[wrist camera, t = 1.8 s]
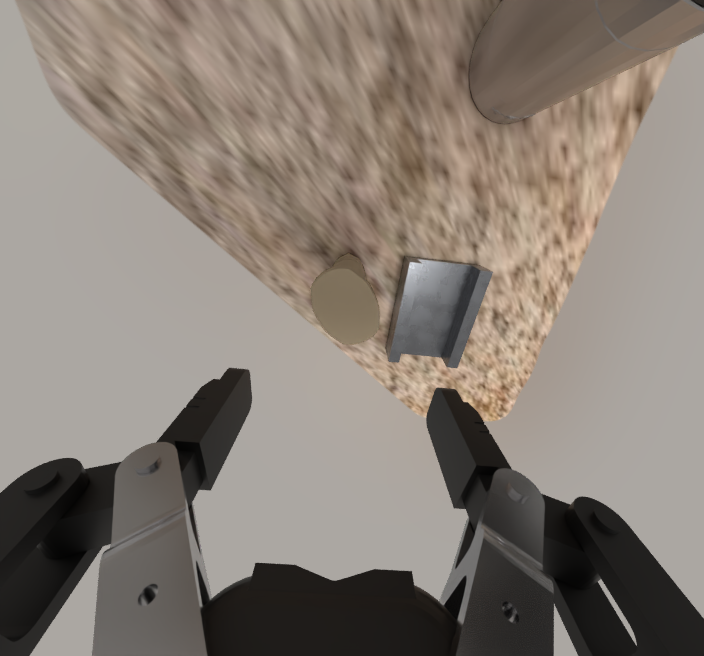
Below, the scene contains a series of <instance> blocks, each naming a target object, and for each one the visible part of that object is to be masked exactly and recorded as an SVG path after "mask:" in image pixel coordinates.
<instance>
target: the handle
mask: <svg viewBox="0 0 704 656" xmlns="http://www.w3.org/2000/svg"><path fill="white" fill-rule="evenodd" d="M310 289H311V302H312V308H313V312H314V314H315V316H316V318H317V320H318V321H319V323H320V324H321V326H322V328H323V329H324V330H325V332H327V333H328V334H329V335H330V336H331V337H333V338H334V339H336V340H337V341H339V342H340V343H342V344H346V345H353V344H358V343H361V342H364V341H366V340H368V339H370V338H371V337H372V336H374V335H375V333H376V332H377V331H378V330H379V319H380V312H379V305H378V301H377V298H376V296H375V294H374V292H373V289H372V287H371V285H370V284H369V282H368V281H367V280H366V275H365V270H364V267H363V265H362V263H361V261H360V259H358V258H357V257H355V256H353V255H351V253H347V254H346V255H344V256H342V257H339V258H338V259H337V261H336V262H335V263H334V265H333V267H332V268H330V269H327V270H326V271H324V272H322V273H321V274H320V275H319V276H318V277H317V278H316V279H315V281H314V282H313V284H312V286H311V288H310Z"/></svg>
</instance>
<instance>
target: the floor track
mask: <svg viewBox="0 0 704 656" xmlns="http://www.w3.org/2000/svg"><path fill="white" fill-rule="evenodd" d="M492 273H493V272H492V271H490V270H488V269H486V268H484V267H482V266H480V265H474V264H466V263H457V262H449V261H441V260H432V259H424V258H415V257H407V256H404V261H403V266H402V271H401V276H400V281H399V285H398V290H397V295H396V300H395V305H394V310H393V315H392V319H391V324H390V329H389V334H388V339H387V344H386V353H387V357H388V361H389V362H399V360H400V356H401V353H402V354H412V355H422V356H432V357H441V358H442V359H443V361H444V363H445V365H446V366H447V367H450V368H457V367H458V365H459V362H460V359H461V357H462V354H463V351H464V349H465V346H466V343H467V340H468V338H469V335H470V332H471V330H472V327H473V324H474V322H475V319H476V316H477V314H478V311H479V308H480V306H481V303H482V300H483V297H484V295H485V292H486V289H487V287H488V284H489V281H490V279H491V276H492Z"/></svg>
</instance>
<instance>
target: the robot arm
mask: <svg viewBox="0 0 704 656" xmlns="http://www.w3.org/2000/svg"><path fill="white" fill-rule="evenodd" d="M702 33H704V0H502V1H501V3H500V4H499V6H498V7H497V8H496V10H495V11H494V12H493V14H492V15H491V16H490V18H489V19H488V20H487V22H486V24H485V25H484V27H483V29H482V31H481V32H480V34H479V36H478V39H477V41H476V44H475V46H474V49H473V53H472V57H471V62H470V72H469V80H470V90H471V94H472V97H473V100H474V102H475V104H476V106H477V108H478V110H479V111H480V112H481V113H482V114H483V115H484V116H485V117H486V118H488V119H489V120H491V121H494V122H497V123H505V124H510V123H514V122H518V121H521V120H523V119H525V118H527V117H530V116H533V115H535V114H536V113H538V112H540V111H542V110H544V109H546V108H548V107H551V106H553V105H555V104H557V103H559V102H561V101H563V100H565V99H567V98H569V97H572V96H574V95H576V94H578V93H580V92H582V91H584V90H586V89H588V88H590V87H592V86H594V85H597V84H599V83H601V82H603V81H605V80H607V79H609V78H611V77H613V76H615V75H617V74H620V73H622V72H624V71H626V70H628V69H630V68H632V67H634V66H636V65H638V64H640V63H642V62H645V61H647V60H649V59H651V58H653V57H655V56H657V55H659V54H661V53H663V52H665V51H667V50H670V49H672V48H674V47H676V46H678V45H680V44H682V43H684V42H686V41H688V40H690V39H692V38H694V37H696V36H698V35H700V34H702ZM251 403H252V392H251V380H250V372H249V370H246V369H237V368H229V369H227V371H226V372H225V373H224V375H223V376H222V377H221V379H220V380H219V379H213V380H211V381H210V382H208V383H207V384H205V385H204V386H202V387H201V388H200V389H199V391H198V392H197V393H196V394H195V396H194V397H193V399H192V400H191V401H190V402H189V403H188V404H187V406H186V408H184V409H183V410H182V411H181V413H180V414H179V415H178V416H177V418H176V419H175V420H174V421H173V422H172V424H171V425H170V426H169V427H168V429H167V430H166V431H165V432H164V433H163V435H162V436H161V437H160V438H159V440H158V441H157V442H156V443H151V444H148V445H145V446H143V447H141V448H139V449H137V450H136V451H134V452H132V453H131V454H130V455H129V456H127V457H126V458H125V459H124V460H123V461H122V462H119V463H114V464H109V465H103V466H98V467H94V468H89V469H84V468H83V466H82V464H81V463H80V461H78V460H77V459H74V458H62V459H57V460H53V461H50V462H47V463H44V464H42V465H39V466H37V467H36V468H33V469H31V470H30V471H28V472H27V473H25V474H23V475H22V476H20V477H19V478H17V479H16V480H15V481H14V482H12V483H11V484H10V485H9V486H8V487H7V488H6V489H5V490H3V491H2V492H1V493H0V656H29V655H30V654H31V653H32V651H33V649H34V648H35V646H36V645H37V644H38V642H39V641H40V639H41V638H42V636H43V634H44V633H45V632H46V630H47V629H48V627H49V626H50V624H51V623H52V621H53V620H54V618H55V617H56V615H57V614H58V612H59V611H60V609H61V608H62V606H63V605H64V603H65V602H66V600H67V599H68V597H69V596H70V594H71V593H72V591H73V590H74V588H75V587H76V585H77V584H78V583H79V581H80V580H81V578H82V577H83V575H84V573H85V572H86V571H87V569H88V568H89V566H90V564H91V563H92V562H93V560H94V559H95V557H96V556H97V554H98V553H99V551H100V550H101V548H102V547H103V546H105V545H108V544H111V547H110V549H108V550H106V551H105V552H104V553H103V555H102V558H101V561H100V568H99V578H98V579H99V580H98V591H97V603H96V615H95V627H94V640H93V651H92V656H553V654H554V646H553V644H554V604H555V606H556V608H557V611H558V613H559V615H560V617H561V619H562V621H563V624H564V626H565V628H566V630H567V632H568V634H569V636H570V639H571V641H572V643H573V645H574V647H575V649H576V652H577V654H578V656H704V618H703V617H702V616H701V615H700V614H699V612H698V611H697V610H696V609H695V607H694V606H693V605H692V604H691V603H690V601H689V600H688V599H687V597H686V596H685V595H684V594H683V593H682V591H681V590H680V589H679V588H678V586H677V585H676V584H675V583H674V581H673V580H672V579H671V578H670V576H669V575H668V574H667V573H666V571H665V570H664V569H663V568H662V567H661V565H660V564H659V563H658V561H657V560H656V559H655V558H654V556H653V555H652V554H651V553H650V552H649V550H648V549H647V548H646V547H645V545H644V544H643V543H642V542H641V541H640V540H639V538H638V537H637V535H636V534H635V533H634V532H633V530H632V529H631V528H630V527H629V526H628V524H627V523H626V522H625V521H624V520H623V519H622V518H621V517H620V516H619V515H618V514H616V513H615V512H614V511H613V510H612V509H610V508H609V507H607V506H606V505H604V504H603V503H601V502H599V501H597V500H595V499H592V498H588V497H578V498H577V499H575V500H574V502H573V503H572V504H571V505H570V504H567V503H564V502H562V501H559V500H556V499H554V498H551V497H548V496H546V495H543V494H541V493H540V491H539V490H538V488H537V487H536V486H535V485H534V484H533V483H532V482H531V481H530V480H529V479H528V478H526V477H525V476H523V475H522V474H521V473H519V472H517V471H514V470H512V469H511V467H510V465H509V464H508V462H507V460H506V459H505V457H504V455H503V454H502V452H501V450H500V449H499V447H498V445H497V443H496V442H495V440H494V439H493V437H492V435H491V434H489V430H488V429H487V427H486V425H484V422H483V420H482V418H481V417H480V415H479V413H478V412H477V411H476V410H475V409H474V408H473V407H472V406H471V405H470V404H469V403H468V402H463V401H462V399H461V397H460V395H459V394H458V392H457V391H456V390H455V389H447V388H436V390H435V392H434V395H433V398H432V401H431V404H430V407H429V410H428V413H427V428H428V431H429V434H430V437H431V440H432V443H433V446H434V449H435V452H436V455H437V458H438V462H439V464H440V467H441V471H442V473H443V477H444V480H445V483H446V486H447V489H448V491H449V495H450V498H451V500H452V504H453V507H454V508H459V509H466V511H467V513H468V516H469V518H468V519H467V521H466V524H465V528H464V531H463V534H462V537H461V541H460V544H459V547H458V551H457V554H456V557H455V561H454V564H453V567H452V571H451V573H450V576H449V578H448V581H447V583H446V585H445V588H444V590H443V592H442V595H441V598H440V601H438V600H437V599H435V598H434V597H433V596H431V595H430V594H429V593H427V592H426V591H424V590H422V589H421V588H419V587H417V586H415V585H414V582H413V576H412V571H395V570H378V569H374V570H370V571H367V572H364V573H361V574H357V575H354V576H351V577H348V578H344V579H341V580H337V581H332V580H329V579H327V578H324V577H322V576H320V575H317V574H315V573H313V572H310V571H308V570H305V569H303V568H301V567H299V566H296V565H287V564H269V563H255V567H254V571H253V574H252V576H251V577H247V578H244V579H242V580H240V581H238V582H236V583H234V584H232V585H230V586H229V587H227V588H225V589H224V590H222V591H221V592H220V593H218V594H217V595H216V596H214V597H213V598H211V592H210V587H209V583H208V578H207V574H206V569H205V566H204V561H203V556H202V550H201V545H200V540H199V534H198V529H197V524H196V518H195V512H194V507H193V503H192V501H193V500H194V498H195V496H196V494H197V492H198V490H211V489H212V486H213V484H214V482H215V480H216V478H217V476H218V474H219V472H220V470H221V468H222V466H223V464H224V462H225V460H226V458H227V456H228V454H229V452H230V450H231V448H232V446H233V444H234V442H235V440H236V438H237V436H238V433H239V432H240V430H241V428H242V426H243V423H244V422H245V419H246V417H247V415H248V413H249V411H250V408H251ZM600 579H602V581H603V582H604V584H605V585H606V587H607V589H608V590H609V592H610V594H611V595H612V597H613V598H614V600H615V602H616V603H617V605H618V606H619V608H620V609H621V611H622V613H623V615H624V616H625V617H626V619H627V621H628V623H629V624H630V626H631V628H632V630H633V632H634V635H635V638H636V642H637V646H636V645H635V643H634V641H633V640H632V638H631V636H630V635H629V633H628V631H627V630H626V628H625V626H624V625H623V623H622V621H621V620H620V618H619V617H618V615H617V614H616V611H615V610H614V608H613V607H612V605H611V603H610V602H609V600H608V598H607V597H606V595H605V594H604V592H603V590H602V588H601V587H600V585H599V583H598V581H599V580H600Z"/></svg>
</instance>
